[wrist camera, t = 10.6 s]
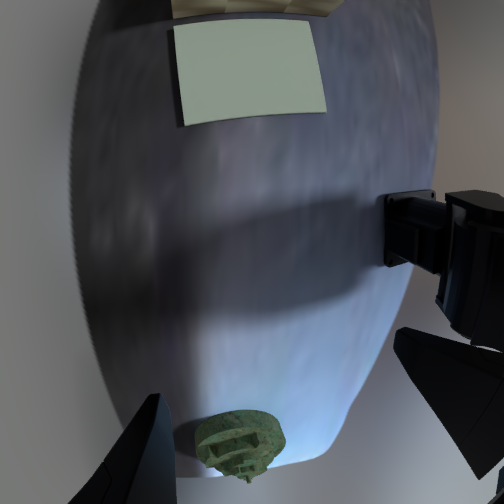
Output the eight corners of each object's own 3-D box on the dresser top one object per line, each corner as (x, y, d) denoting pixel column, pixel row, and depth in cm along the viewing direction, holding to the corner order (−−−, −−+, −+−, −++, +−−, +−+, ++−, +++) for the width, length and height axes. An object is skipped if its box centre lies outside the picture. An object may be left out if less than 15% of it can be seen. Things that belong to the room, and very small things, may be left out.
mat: (306, 23, 15) (308, 21, 15) (324, 112, 18) (326, 112, 17) (174, 28, 14) (173, 26, 13) (185, 126, 16) (184, 125, 16)
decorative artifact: (205, 458, 27) (280, 444, 29) (211, 502, 21) (296, 486, 22) (184, 416, 24) (278, 400, 26) (187, 471, 18) (298, 451, 19)
